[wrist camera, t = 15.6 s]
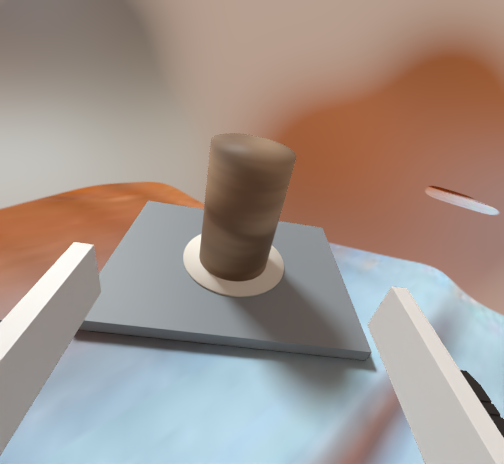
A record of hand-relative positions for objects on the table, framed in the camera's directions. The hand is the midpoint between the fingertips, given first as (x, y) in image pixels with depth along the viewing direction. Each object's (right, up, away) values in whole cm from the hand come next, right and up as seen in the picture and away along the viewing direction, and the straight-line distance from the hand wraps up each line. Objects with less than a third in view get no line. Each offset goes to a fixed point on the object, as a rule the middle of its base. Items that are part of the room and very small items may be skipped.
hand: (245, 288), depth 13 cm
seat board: (-1, -1, +13) cm, 13 cm away
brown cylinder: (-1, 0, +12) cm, 12 cm away
